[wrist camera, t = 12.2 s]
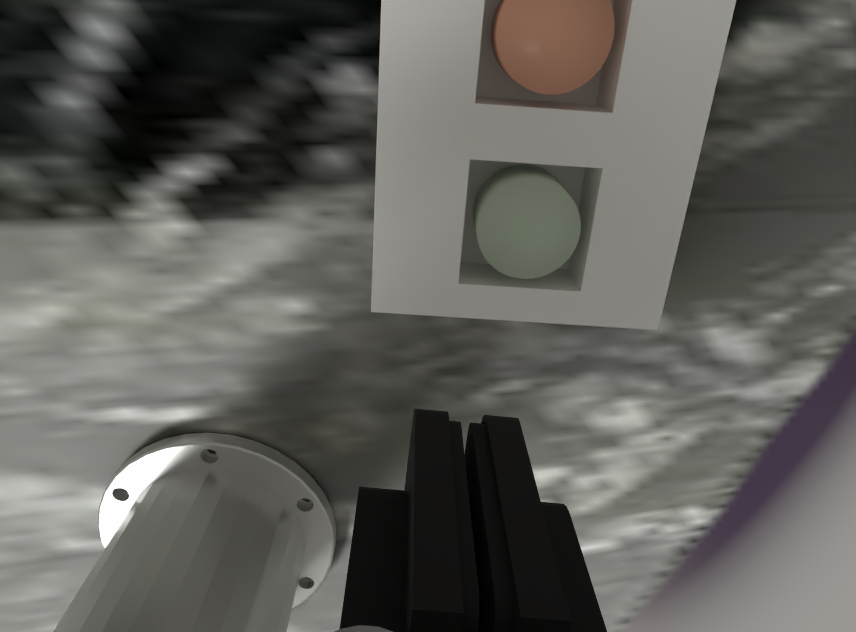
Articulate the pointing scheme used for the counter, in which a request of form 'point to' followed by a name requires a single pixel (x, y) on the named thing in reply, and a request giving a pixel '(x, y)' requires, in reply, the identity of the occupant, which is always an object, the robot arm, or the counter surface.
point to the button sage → (525, 222)
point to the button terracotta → (552, 41)
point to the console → (539, 160)
